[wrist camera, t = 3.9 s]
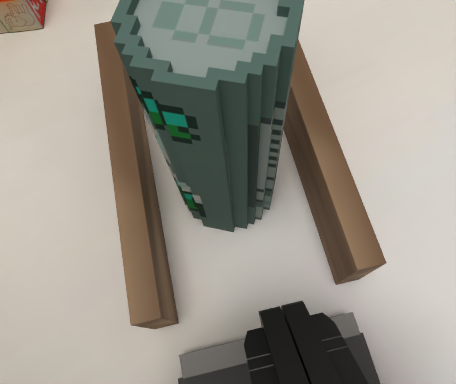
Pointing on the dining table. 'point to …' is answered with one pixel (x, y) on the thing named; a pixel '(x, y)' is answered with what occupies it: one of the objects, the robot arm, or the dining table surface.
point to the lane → (148, 203)
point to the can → (214, 95)
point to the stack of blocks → (21, 15)
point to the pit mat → (238, 367)
